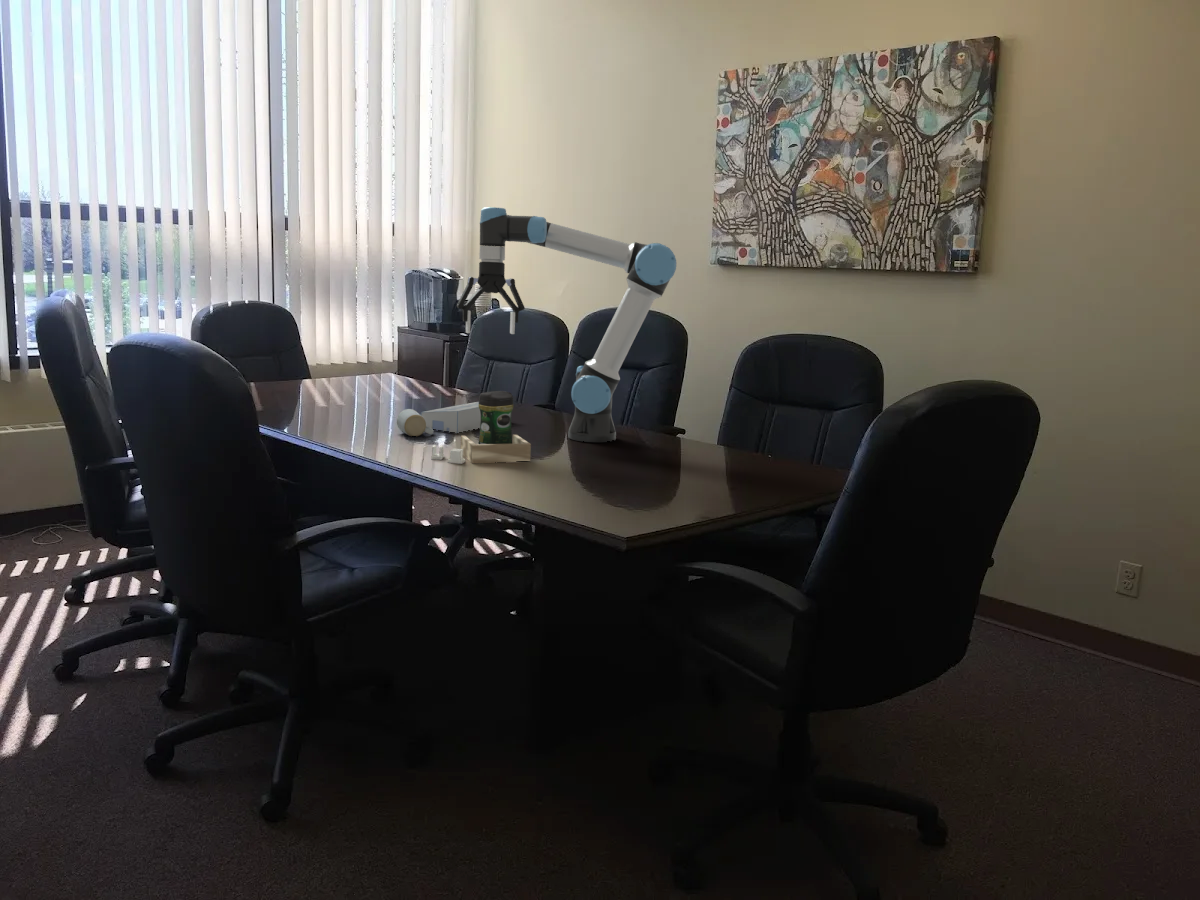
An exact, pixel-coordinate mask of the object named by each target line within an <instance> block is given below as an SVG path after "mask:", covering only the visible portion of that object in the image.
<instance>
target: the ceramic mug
mask: <svg viewBox="0 0 1200 900" xmlns="http://www.w3.org/2000/svg"><path fill="white" fill-rule="evenodd" d="M396 417H397V418H396V425H397V428H398V429H399V430H400V431H401V432H402V433H404V434H405V435H408V436H409V437H412V436H416V437H420V436H421V435H423V434H424V433H426V434H428V435H432V436H433V434H434V431H435V430H433V429H431V428H429V427H427V426H426V422H425V419H424V418H423V417H422V416H421V413H419V412H417V411H416V410H415V409H412V408H405V409H403V410H402V411H400V413H399V414H398V415H397V416H396Z"/></svg>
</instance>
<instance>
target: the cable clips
mask: <svg viewBox="0 0 1200 900" xmlns="http://www.w3.org/2000/svg"><path fill="white" fill-rule="evenodd" d="M444 448H445V447H444V444H441V445H440V446H439V447H438V449H439V451H438V452H439V453H437V444H433V445H431V458H430V459H431V460H435V461H436V460H437V461H438V460H439V461H442V460H443V459H444V456H445V454H444ZM465 462H466V459H465V458H464V456H463V449H461V448H452V449H450V450H449V458H448V459H447V463H449V464H459V465H461V464H464V463H465Z"/></svg>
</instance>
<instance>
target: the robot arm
mask: <svg viewBox="0 0 1200 900" xmlns="http://www.w3.org/2000/svg"><path fill="white" fill-rule="evenodd" d="M479 220H480V221H479V253H478V255H479V258H478V259H479V260H480V261H479V262H478V277H473V276H469V277H467V285H466V286H465V287H464V289H463V290H464V291H462V294H461V296H460V298H459V299H458V302H457V304H456V308H457V309H459V310H462V322H465V333H466V334H471V313H472V312H471V310H469V309H470V308H471V307H472V306H473V304H475V302H476V301H477V300H478V299H479V298H480V296H481V295H482V294H484V293H485V294H500V295H501V297H502V298H503V300H505V302H506V304H507V305H508V306H509V307H510V309H511V310H512V311H510V313H509V314H510V316H509V317H510V319H509V320H510V321H509V334H511V335H515V334H516V333H515V331H516V330H515V329H516V323H518V322H519V313H520V312H521V311H524V310H525V309H526V308H525V305H524V303H523V301H522V298H521V296H520V294H519V291H518V289H517V287H516V280H515V278H507V279H506V278H505V270H506V269H505V268H506V267H505V262H504V261H505V260H506V242H514V243H515V242H516V243H517V242H518V243H528V244H530V245H535V246H539V247H542V248H543V247H544V248H546V249H551V250H554V251H558V252H561V253H564V254H568V255H573V256H576V257H580V258H584V259H586V260H587V259H588V260H591V261H595V262H598V263H601V264H606V265H609V266H613V267H617V268H620V269H623V270H624V271H625V273H626V274H628V275H627V277H626V282H627V288H626V290H625V292H624V295H623V297H622V298H621V300H620V303H619V304H618V306H617V309H616V311H615V313H614V315H613V316H612V319H611V321H610V322H609V324H608V327H607V329H606V331H605V333H604V335H603V337H602V340H601V341H600V343H599V345H598V348H597V349H596V351H595V353H594V355H593V357H592V358H591V359H589V360H586V361H585V362H584V364H583V365H579V366H577V368H576V373H575V377H576V378H575V381H574V383H573V385H572V387H571V389H570V396H571V400H572V402H573V404H574V414H573V418H572V420H571V423H570V426H569V428H568V433H567V434H568V436H567V437H568V439H571V440H573V441H578V442H583V441H584V442H585V443H608V442H607V441H610V442H613V441H612V440H614V441H616V439H617V437H616V436H617V432H616V428H615V425H614V420H613V417H612V406H613V394H614V392H615V390H616V389H617V386H618V384H619V382H620V380H621V377H620V374H619V371H620V369H621V367H622V365H623V363H624V361H625V359H626V358H627V355H628V353H629V351H630V349H631V346H632V345H633V343H634V340H635V339H636V336H637V335H638V332H639V331H640V329H641V327H642V325H643V323H644V321H645V320H646V317H647V315H648V313H649V311H650V309H651V307H652V305H653V303H654V301H655V300H656V299H659V298H662V297H663V294H664V293H665V291H666V288H667V287H668V285H669V282H670V280H671V279H672V278H673V276H674V275H675V273H676V270H677V259H676V255H675V254H674V251H673V250H672V249H671V248H670V247H668V246H667V245H666V244H663V243H658V242H655V243H653V242H652V243H649V244H645V243H640V242H636V241H634V242H632V243H628V242H623V241H620V240H617V239H616V240H615V239H613V238H608V237H605V236H601V235H597V234H593V233H589V232H586V231H582V230H579V229H575V228H571V227H568V226H567V227H566V226H563V225H560V224H556V223H553V222H548V221H547V219H546V218H545V217H543V216H537V215H532V216H531V215H512V214H511V215H510V214H507V210H506V208H505V207H504V208H503V207H495V206H494V207H491V206H490V207H489V206H488V207H487V206H485V207H482V209H481V210H480V218H479ZM476 283H477V284H478V285H479V287H478V288H477V290H476V291H475V292H474V293H473V295H471V296H470V298H469V299H468V300H467V298H468V297H469V295H470V292H471V291H472V289H473V287H474V285H476ZM505 285H507V287H509V289H510V291H511V294H512V296H513V298H514V301H515V303H514V301H513V300H512V299H511V297H510V296H509V294H508V293H507V292H506V291H507V290H505V289H504V286H505ZM466 300H467V302H466ZM584 442H583V443H584Z"/></svg>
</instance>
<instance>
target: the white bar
mask: <svg viewBox="0 0 1200 900" xmlns="http://www.w3.org/2000/svg"><path fill="white" fill-rule="evenodd" d="M420 415H421V416H422V417H423V418H424V419H425V422H426V426H427V427H429V428H431V429H436V430H435V431H438V430H443V431H442V432H444V431H449V432H448V433H450V432H455V433H454V434H457V433H458V434H460V433H459V432H462V433H464V432H463V431H466V432H469V431H468V430H470V431H474V430H473V429H475V430H478V428H479V429H480V422H481V414H480V409H479V401H476V402H475V401H474V402H470V403H463V404H457V405H452V406H447V407H441V408H436V409H431V410H426V411H421V412H420Z"/></svg>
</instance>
